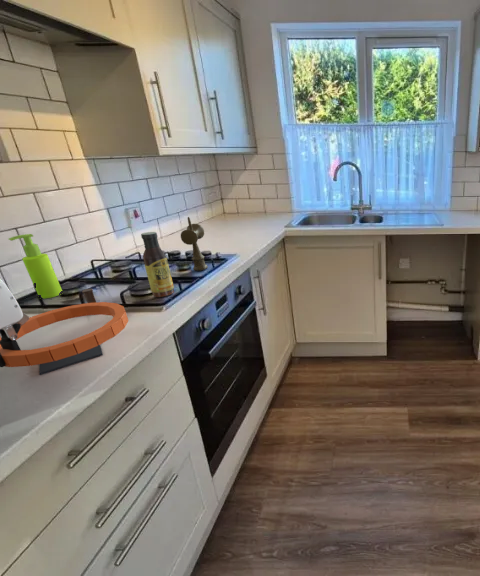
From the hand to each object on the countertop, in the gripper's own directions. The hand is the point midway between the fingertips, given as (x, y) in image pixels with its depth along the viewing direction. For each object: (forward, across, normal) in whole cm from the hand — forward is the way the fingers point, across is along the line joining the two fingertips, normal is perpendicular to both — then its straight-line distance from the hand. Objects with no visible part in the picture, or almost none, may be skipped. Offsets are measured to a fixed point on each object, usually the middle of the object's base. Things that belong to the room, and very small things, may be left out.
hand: (7, 361), depth 72 cm
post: (+6, -31, -18) cm, 36 cm away
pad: (+6, -11, 0) cm, 12 cm away
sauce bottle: (+6, -45, -6) cm, 45 cm away
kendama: (+6, -67, -11) cm, 68 cm away
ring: (+1, -11, 0) cm, 11 cm away
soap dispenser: (+6, -36, -44) cm, 57 cm away
